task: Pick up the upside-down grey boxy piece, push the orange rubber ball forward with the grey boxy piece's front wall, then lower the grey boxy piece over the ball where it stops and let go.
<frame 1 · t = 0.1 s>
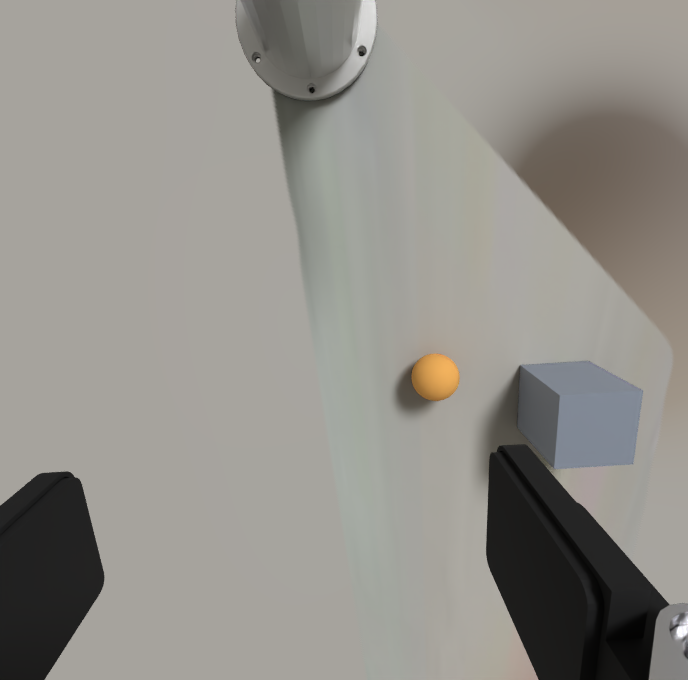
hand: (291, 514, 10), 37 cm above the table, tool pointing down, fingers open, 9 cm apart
ball: (435, 377, 45), on the table
grey boxy piece: (552, 394, 49), on the table
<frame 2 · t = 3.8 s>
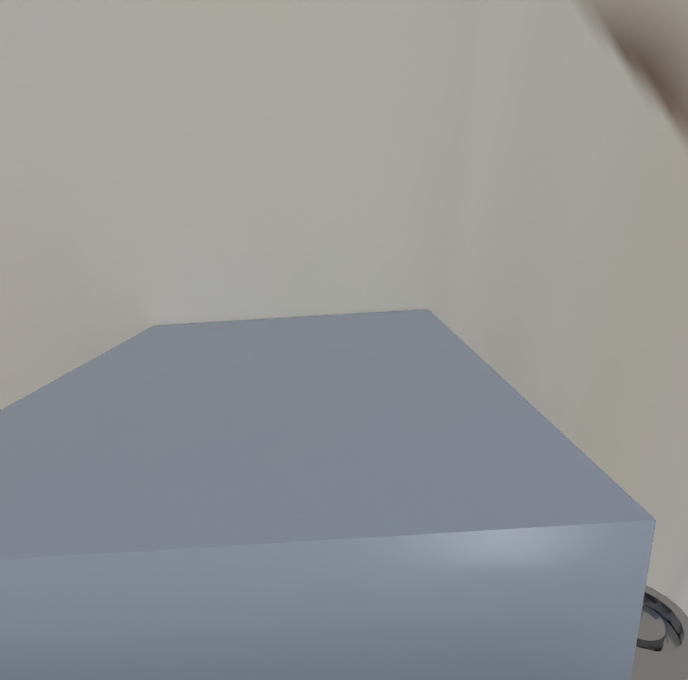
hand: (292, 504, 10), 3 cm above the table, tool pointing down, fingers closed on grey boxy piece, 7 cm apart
grey boxy piece: (302, 441, 13), on the table, touching gripper
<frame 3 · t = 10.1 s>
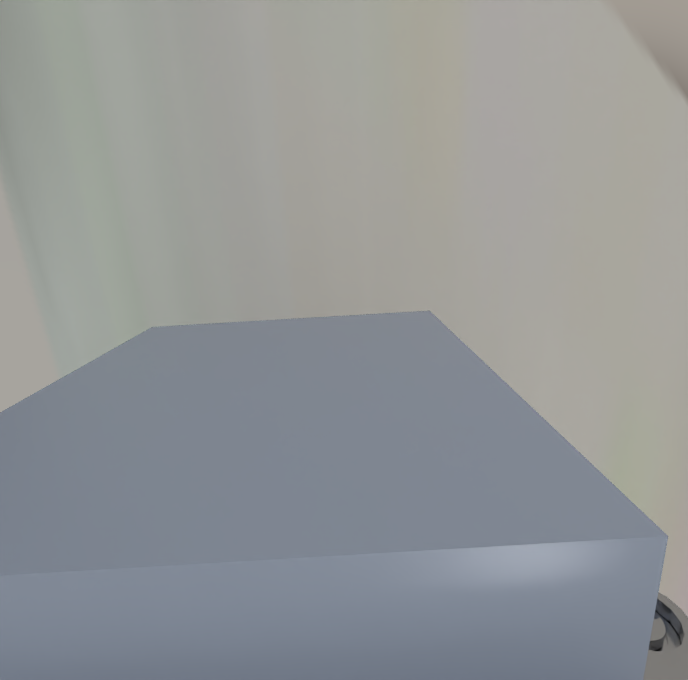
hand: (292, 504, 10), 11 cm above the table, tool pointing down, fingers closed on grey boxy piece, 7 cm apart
grey boxy piece: (302, 443, 13), point 8 cm above the table, touching gripper
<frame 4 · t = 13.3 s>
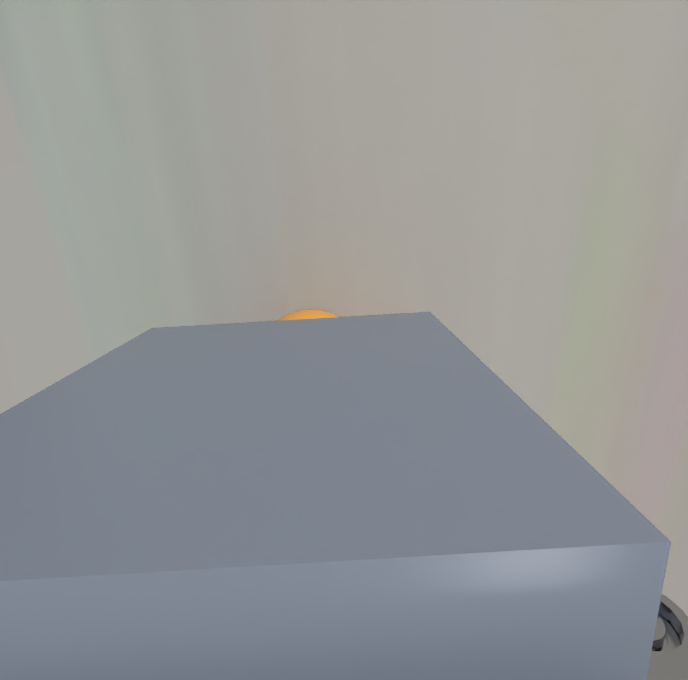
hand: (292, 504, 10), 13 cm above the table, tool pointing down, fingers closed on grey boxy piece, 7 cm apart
ball: (310, 361, 20), on the table
grey boxy piece: (302, 444, 13), point 10 cm above the table, touching gripper
when the fingers open (3 cm above the table, at t = 16.3 s): grey boxy piece stays where it is, on the table.
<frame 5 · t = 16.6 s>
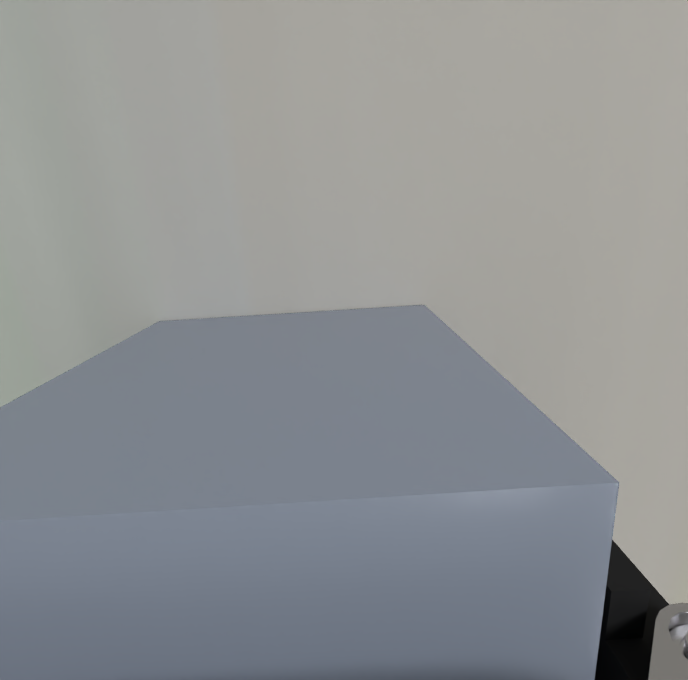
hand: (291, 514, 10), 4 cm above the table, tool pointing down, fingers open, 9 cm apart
grey boxy piece: (303, 433, 13), on the table
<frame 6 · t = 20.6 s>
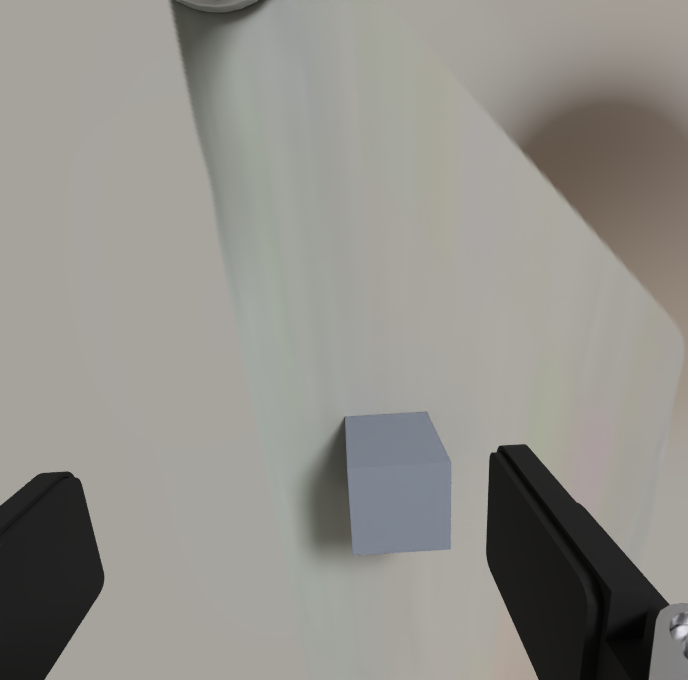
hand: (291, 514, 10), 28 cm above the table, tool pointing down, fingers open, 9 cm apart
grey boxy piece: (387, 451, 41), on the table
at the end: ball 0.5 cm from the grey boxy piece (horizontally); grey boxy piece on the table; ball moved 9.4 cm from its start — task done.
